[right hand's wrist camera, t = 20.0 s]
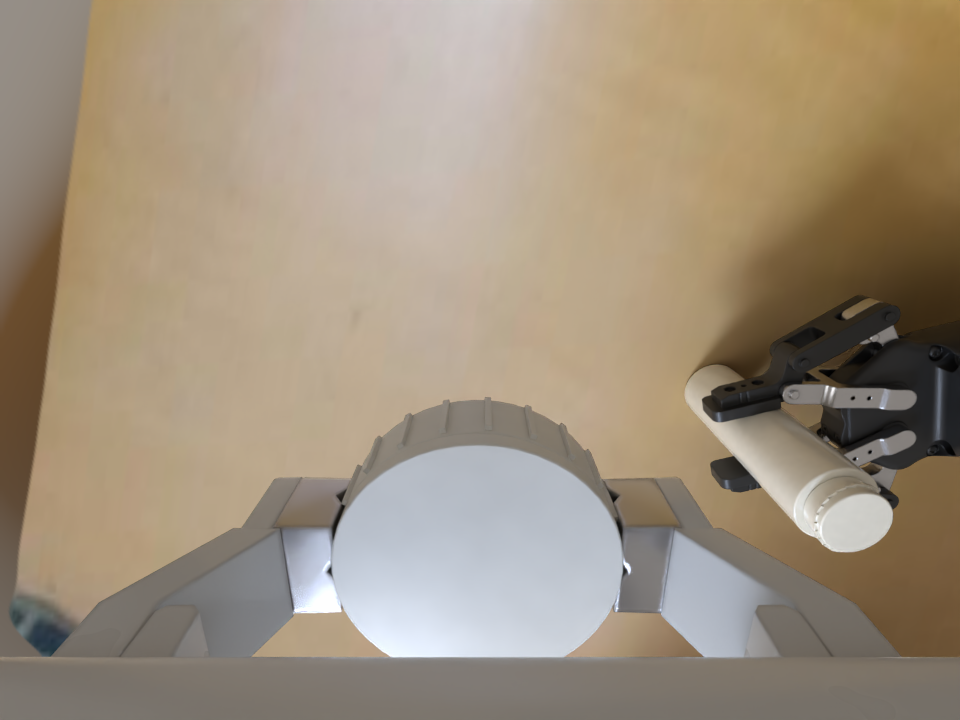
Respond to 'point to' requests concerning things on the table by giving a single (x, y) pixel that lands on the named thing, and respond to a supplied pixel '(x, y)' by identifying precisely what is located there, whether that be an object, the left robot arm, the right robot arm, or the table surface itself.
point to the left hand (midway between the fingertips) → (713, 444)
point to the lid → (477, 537)
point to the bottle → (798, 470)
